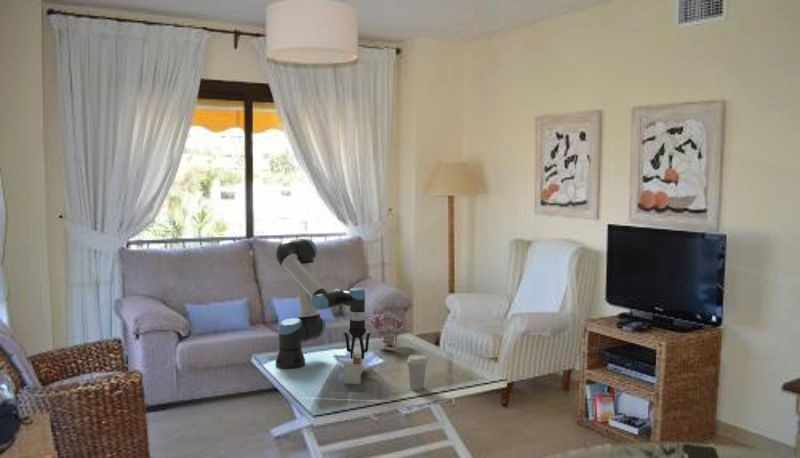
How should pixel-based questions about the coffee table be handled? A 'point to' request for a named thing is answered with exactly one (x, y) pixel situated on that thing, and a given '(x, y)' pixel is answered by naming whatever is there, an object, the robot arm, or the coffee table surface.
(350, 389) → the mat
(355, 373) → the tile
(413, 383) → the coffee cup
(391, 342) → the flower
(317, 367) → the coffee table surface
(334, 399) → the coffee table surface
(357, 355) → the tapered wooden block
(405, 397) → the coffee table surface
